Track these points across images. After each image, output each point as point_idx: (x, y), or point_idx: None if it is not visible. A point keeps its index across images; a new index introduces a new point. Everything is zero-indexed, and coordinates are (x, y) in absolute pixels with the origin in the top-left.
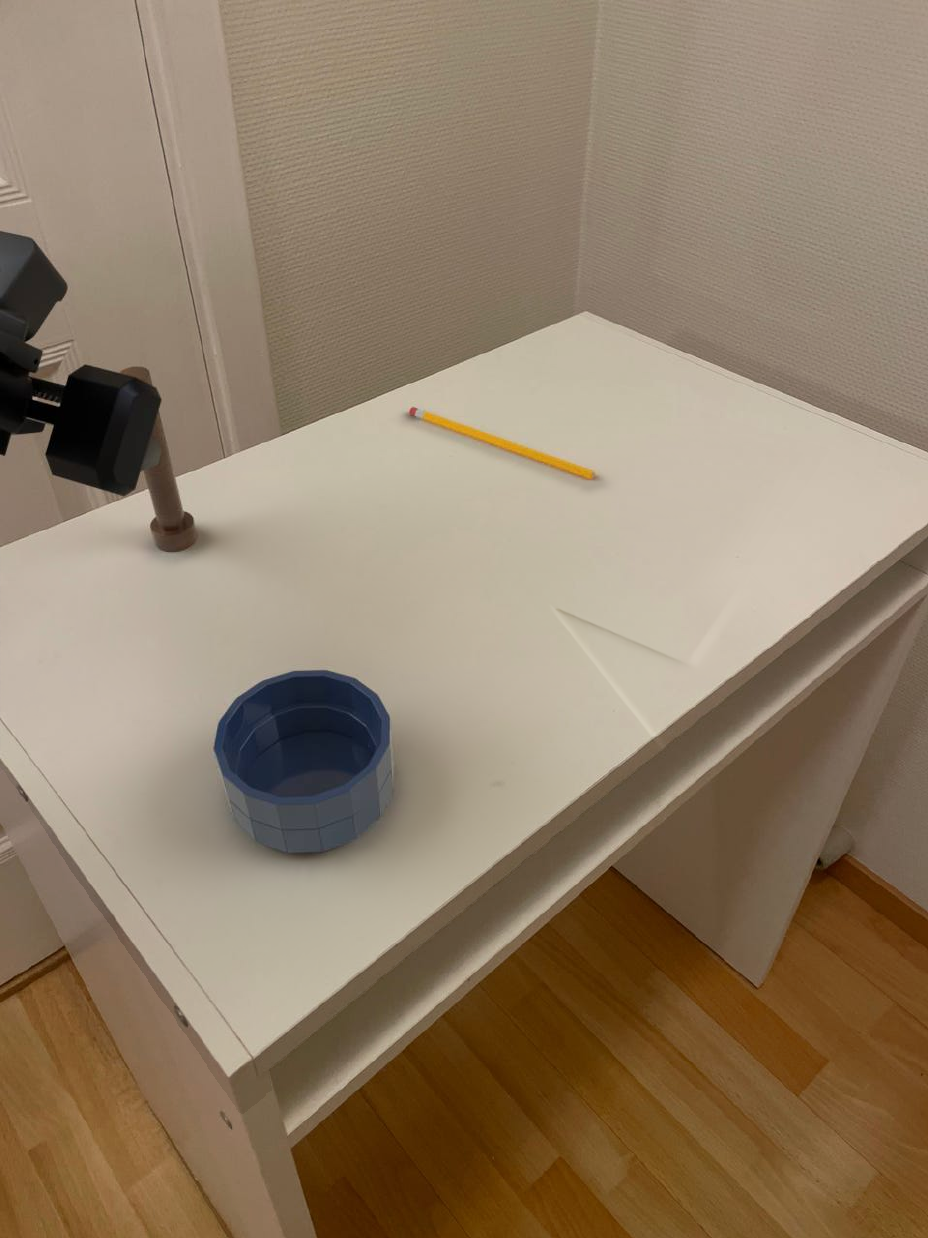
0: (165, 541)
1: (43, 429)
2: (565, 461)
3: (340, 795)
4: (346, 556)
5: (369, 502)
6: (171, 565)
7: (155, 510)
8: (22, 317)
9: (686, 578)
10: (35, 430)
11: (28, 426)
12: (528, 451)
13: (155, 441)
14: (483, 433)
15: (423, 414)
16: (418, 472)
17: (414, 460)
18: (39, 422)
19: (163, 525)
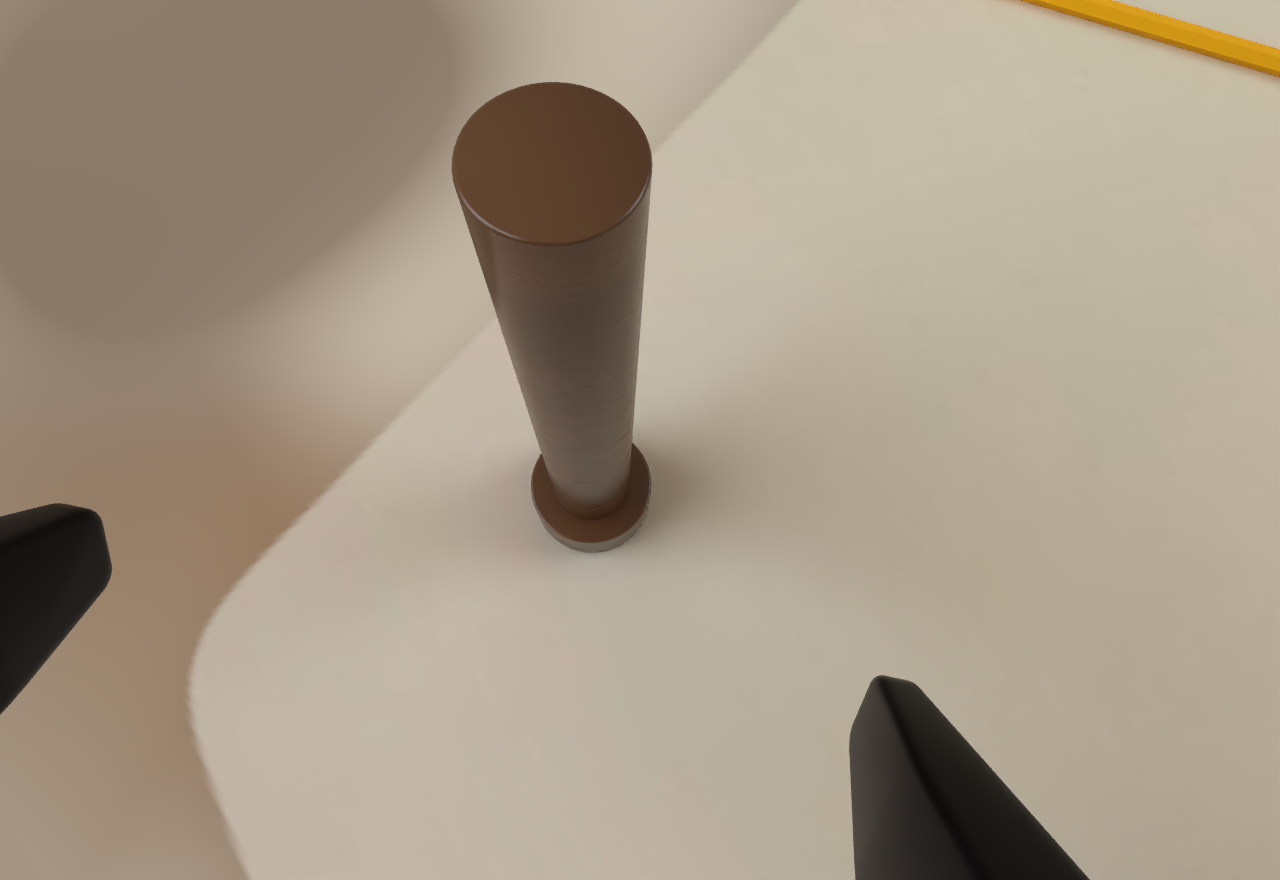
0: (595, 546)
1: (110, 569)
2: None
3: None
4: (1036, 471)
5: (989, 271)
6: (628, 603)
7: (565, 498)
8: None
9: None
10: (68, 621)
11: (10, 655)
12: (1254, 52)
13: (1001, 781)
14: (1132, 10)
15: None
16: (1043, 151)
17: (1013, 114)
18: (67, 573)
19: (585, 516)
